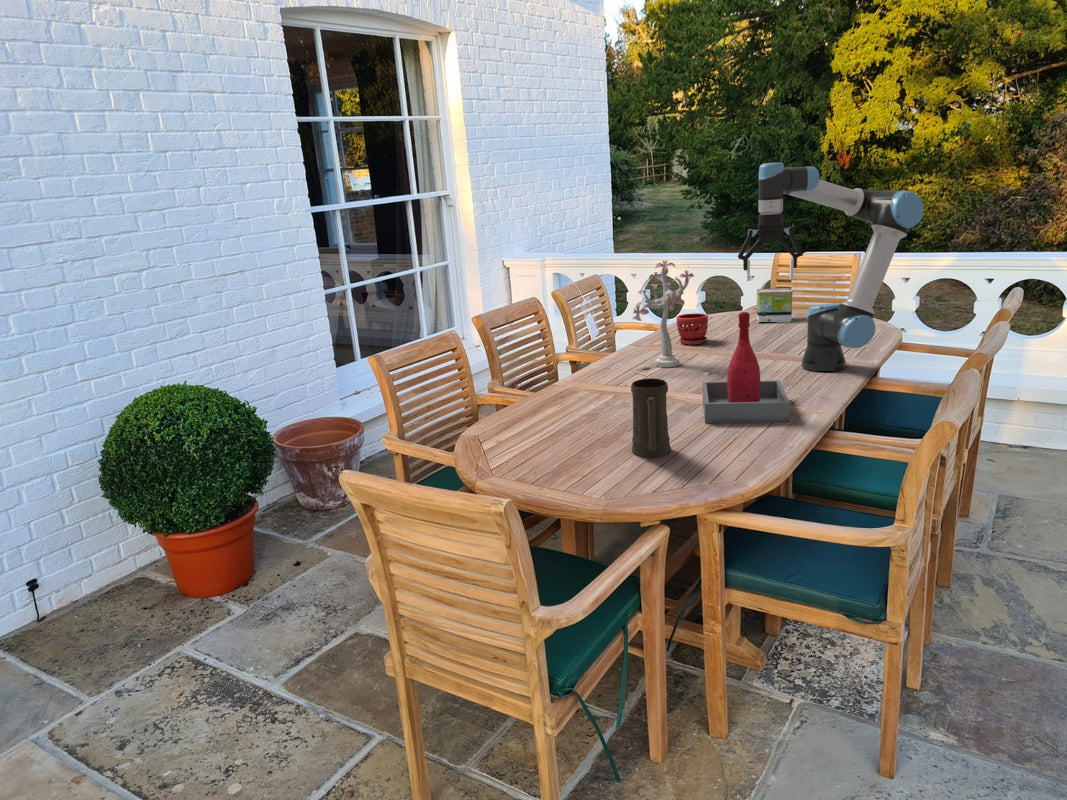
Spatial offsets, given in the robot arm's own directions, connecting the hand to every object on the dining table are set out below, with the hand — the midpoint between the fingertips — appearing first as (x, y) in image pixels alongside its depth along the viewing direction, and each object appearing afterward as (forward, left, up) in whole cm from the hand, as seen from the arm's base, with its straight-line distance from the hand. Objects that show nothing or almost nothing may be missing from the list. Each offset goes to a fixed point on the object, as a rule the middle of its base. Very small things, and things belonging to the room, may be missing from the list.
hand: (769, 279), depth 262 cm
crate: (+10, +25, -37) cm, 46 cm away
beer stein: (+37, +63, -37) cm, 82 cm away
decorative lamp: (+36, -33, -37) cm, 61 cm away
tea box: (-14, -111, -37) cm, 118 cm away
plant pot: (+24, -71, -37) cm, 84 cm away
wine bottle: (+10, +25, -36) cm, 45 cm away
